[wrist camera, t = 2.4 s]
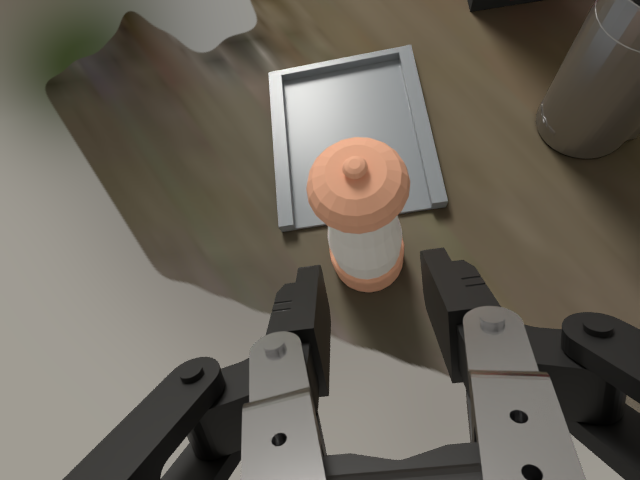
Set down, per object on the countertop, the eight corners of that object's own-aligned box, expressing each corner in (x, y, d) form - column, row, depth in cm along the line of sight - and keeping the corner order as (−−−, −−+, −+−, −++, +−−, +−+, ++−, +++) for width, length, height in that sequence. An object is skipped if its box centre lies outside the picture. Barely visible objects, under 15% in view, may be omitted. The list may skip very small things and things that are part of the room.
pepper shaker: (362, 306, 41) (343, 241, 24) (320, 253, 44) (274, 159, 26) (418, 263, 42) (440, 168, 24) (373, 214, 45) (364, 95, 27)
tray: (410, 54, 52) (410, 44, 50) (446, 207, 44) (448, 200, 42) (271, 80, 54) (268, 72, 52) (281, 231, 46) (278, 226, 44)
